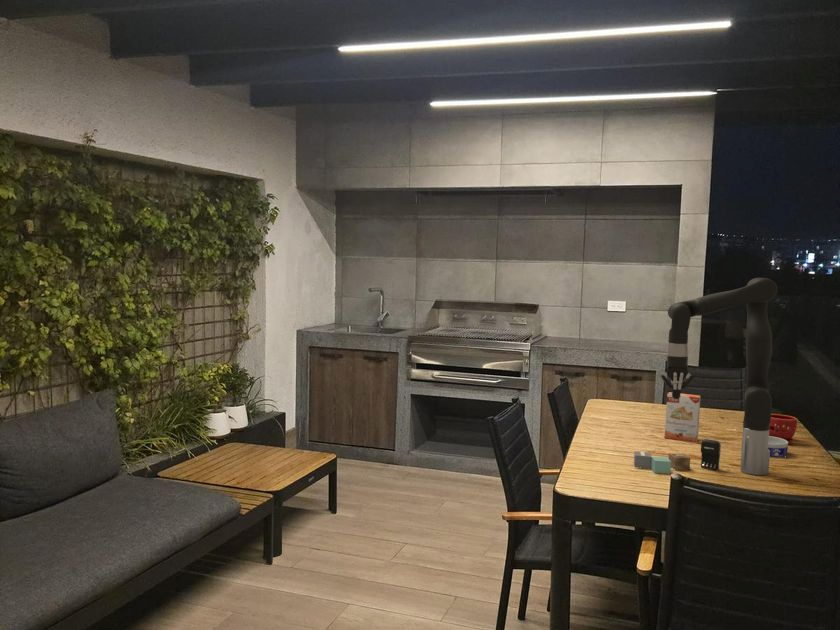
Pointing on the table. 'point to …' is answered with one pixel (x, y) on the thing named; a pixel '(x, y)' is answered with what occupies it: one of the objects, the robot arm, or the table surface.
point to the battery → (710, 454)
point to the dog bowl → (777, 447)
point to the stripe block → (642, 459)
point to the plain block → (660, 465)
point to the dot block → (679, 461)
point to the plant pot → (783, 431)
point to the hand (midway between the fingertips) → (675, 398)
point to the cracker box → (682, 417)
